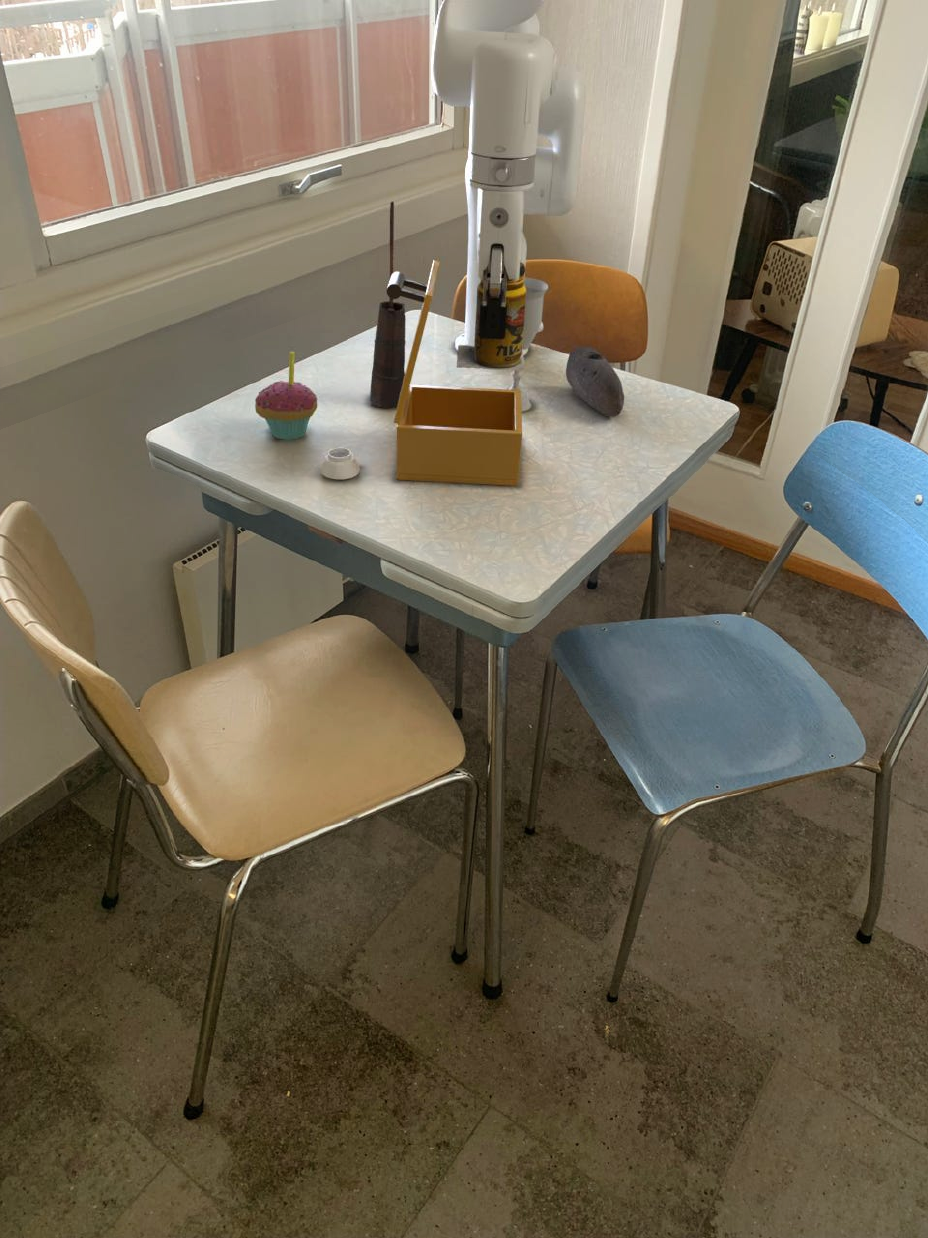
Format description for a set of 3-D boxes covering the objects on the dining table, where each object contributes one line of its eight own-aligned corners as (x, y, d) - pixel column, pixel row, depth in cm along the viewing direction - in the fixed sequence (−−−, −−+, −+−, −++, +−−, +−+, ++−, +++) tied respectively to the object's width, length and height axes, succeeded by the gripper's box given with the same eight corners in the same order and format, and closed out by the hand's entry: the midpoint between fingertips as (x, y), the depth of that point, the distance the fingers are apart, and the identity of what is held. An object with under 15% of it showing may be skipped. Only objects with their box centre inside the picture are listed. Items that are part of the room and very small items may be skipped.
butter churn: (408, 421, 134) (409, 218, 117) (347, 411, 135) (339, 210, 119) (427, 397, 141) (430, 202, 124) (369, 388, 143) (364, 194, 126)
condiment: (524, 371, 114) (532, 272, 107) (456, 368, 114) (459, 269, 107) (522, 350, 120) (530, 255, 112) (458, 347, 120) (461, 251, 112)
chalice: (545, 411, 138) (557, 290, 127) (503, 417, 136) (512, 294, 125) (524, 392, 144) (534, 275, 133) (484, 397, 141) (491, 278, 131)
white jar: (313, 472, 120) (339, 486, 117) (311, 452, 118) (338, 465, 116) (341, 460, 123) (367, 472, 121) (340, 440, 121) (367, 452, 119)
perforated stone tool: (632, 424, 136) (639, 379, 132) (600, 427, 134) (606, 382, 130) (591, 384, 147) (596, 342, 143) (560, 387, 146) (565, 344, 142)
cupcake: (285, 415, 134) (278, 334, 126) (332, 430, 130) (328, 347, 123) (245, 436, 128) (236, 352, 120) (293, 452, 124) (286, 367, 117)
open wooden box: (517, 439, 130) (521, 389, 126) (517, 486, 119) (522, 433, 115) (406, 433, 130) (406, 383, 126) (396, 479, 119) (396, 427, 115)
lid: (439, 261, 116) (398, 249, 115) (432, 296, 105) (386, 282, 104) (409, 381, 126) (370, 370, 125) (399, 424, 115) (357, 413, 114)
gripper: (536, 189, 96) (523, 355, 107) (532, 156, 110) (521, 306, 121) (465, 185, 96) (459, 352, 107) (470, 153, 110) (464, 304, 121)
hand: (492, 326), depth 114 cm, fingers closed on condiment, 6 cm apart
